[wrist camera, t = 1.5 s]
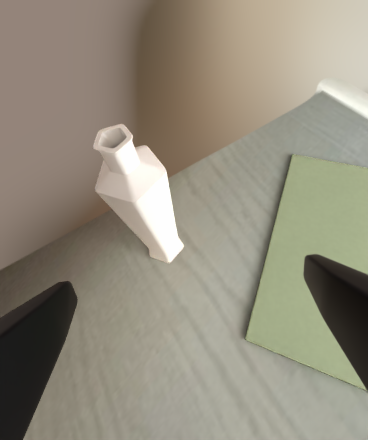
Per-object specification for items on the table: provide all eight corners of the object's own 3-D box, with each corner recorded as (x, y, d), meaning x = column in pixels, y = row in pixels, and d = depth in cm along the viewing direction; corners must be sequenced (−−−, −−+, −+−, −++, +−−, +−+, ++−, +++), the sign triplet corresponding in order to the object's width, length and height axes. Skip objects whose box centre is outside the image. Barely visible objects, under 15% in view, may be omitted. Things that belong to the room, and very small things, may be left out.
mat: (479, 438, 16) (485, 440, 15) (244, 339, 20) (245, 339, 20) (450, 186, 25) (453, 183, 24) (291, 156, 29) (292, 154, 29)
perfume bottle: (163, 219, 27) (114, 99, 14) (192, 240, 25) (168, 126, 12) (135, 249, 26) (53, 146, 13) (165, 273, 24) (104, 183, 11)
